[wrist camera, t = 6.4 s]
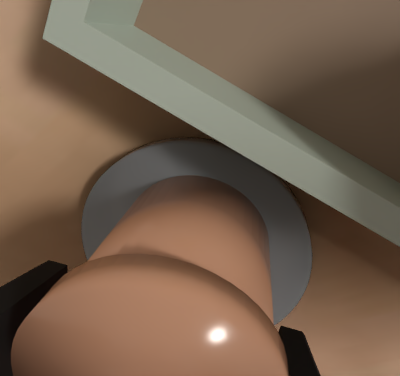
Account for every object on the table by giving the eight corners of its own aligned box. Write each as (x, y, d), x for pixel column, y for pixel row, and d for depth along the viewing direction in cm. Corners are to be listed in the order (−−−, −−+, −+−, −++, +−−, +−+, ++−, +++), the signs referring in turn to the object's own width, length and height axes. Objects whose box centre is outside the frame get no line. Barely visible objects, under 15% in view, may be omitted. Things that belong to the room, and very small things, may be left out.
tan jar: (253, 320, 13) (249, 513, 8) (113, 283, 14) (18, 442, 8) (298, 191, 11) (338, 340, 5) (126, 151, 11) (0, 251, 6)
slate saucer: (363, 220, 11) (369, 232, 11) (233, 356, 16) (231, 371, 15) (138, 89, 11) (129, 92, 10) (66, 263, 15) (56, 274, 15)
